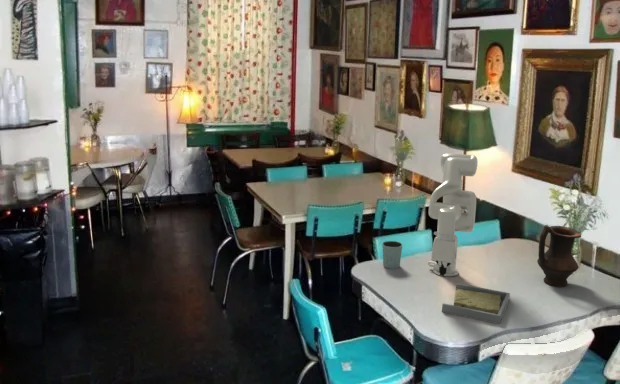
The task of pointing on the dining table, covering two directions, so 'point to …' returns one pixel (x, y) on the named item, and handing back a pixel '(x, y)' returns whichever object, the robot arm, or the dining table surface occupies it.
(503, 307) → the box
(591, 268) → the dining table surface
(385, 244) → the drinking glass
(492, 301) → the decorative tile
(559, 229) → the jug
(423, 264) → the dining table surface
